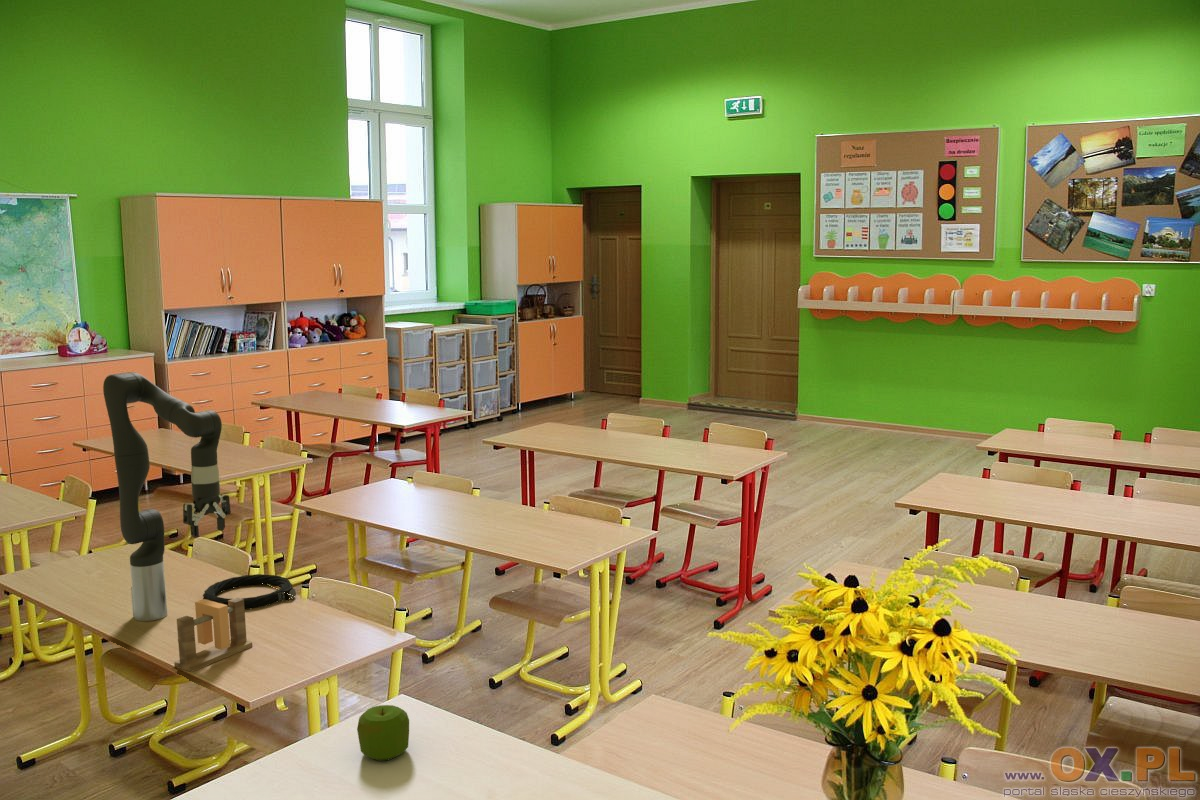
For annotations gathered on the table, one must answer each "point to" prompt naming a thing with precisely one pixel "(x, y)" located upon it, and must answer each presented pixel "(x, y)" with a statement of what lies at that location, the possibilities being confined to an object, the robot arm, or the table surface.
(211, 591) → the cable lock
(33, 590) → the table surface
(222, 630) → the orange block
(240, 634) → the rail
